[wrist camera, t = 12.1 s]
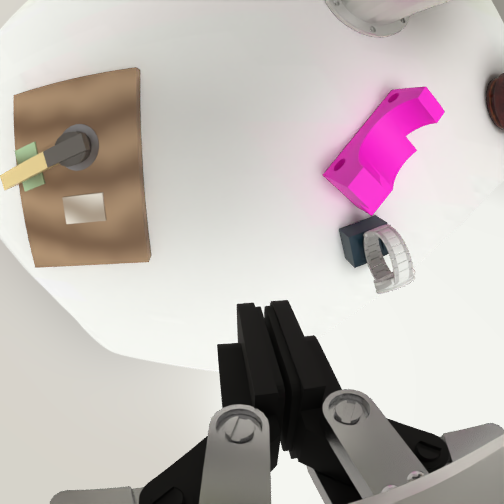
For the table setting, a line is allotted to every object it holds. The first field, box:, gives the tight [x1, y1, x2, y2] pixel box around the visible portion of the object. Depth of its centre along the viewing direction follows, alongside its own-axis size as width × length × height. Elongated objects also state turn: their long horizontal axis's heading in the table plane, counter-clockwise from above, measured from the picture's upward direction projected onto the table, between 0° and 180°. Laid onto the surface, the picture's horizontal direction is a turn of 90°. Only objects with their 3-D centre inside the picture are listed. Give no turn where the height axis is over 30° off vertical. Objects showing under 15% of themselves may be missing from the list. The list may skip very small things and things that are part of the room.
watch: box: [339, 215, 415, 294], centre depth 35 cm, size 6×8×11 cm
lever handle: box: [0, 131, 92, 190], centre depth 27 cm, size 12×4×4 cm, turn 104°
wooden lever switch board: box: [14, 67, 151, 267], centre depth 31 cm, size 22×16×2 cm
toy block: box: [323, 87, 445, 216], centre depth 32 cm, size 15×6×8 cm, turn 142°
